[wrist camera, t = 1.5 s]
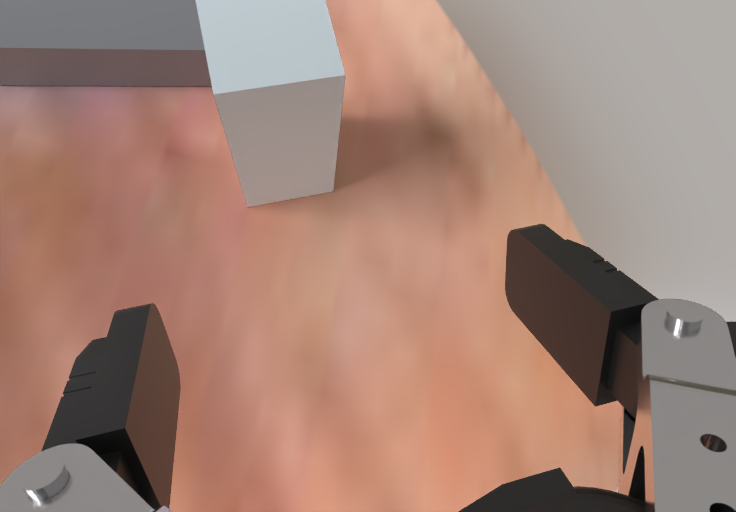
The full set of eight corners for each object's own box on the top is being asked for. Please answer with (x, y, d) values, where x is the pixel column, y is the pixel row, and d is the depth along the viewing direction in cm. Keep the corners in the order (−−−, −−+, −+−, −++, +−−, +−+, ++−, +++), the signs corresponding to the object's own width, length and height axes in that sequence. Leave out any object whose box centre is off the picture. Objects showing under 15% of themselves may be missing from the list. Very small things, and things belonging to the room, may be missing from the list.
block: (247, 207, 27) (213, 94, 17) (232, 130, 28) (192, -15, 19) (333, 191, 28) (345, 74, 18) (315, 117, 29) (317, -30, 19)
